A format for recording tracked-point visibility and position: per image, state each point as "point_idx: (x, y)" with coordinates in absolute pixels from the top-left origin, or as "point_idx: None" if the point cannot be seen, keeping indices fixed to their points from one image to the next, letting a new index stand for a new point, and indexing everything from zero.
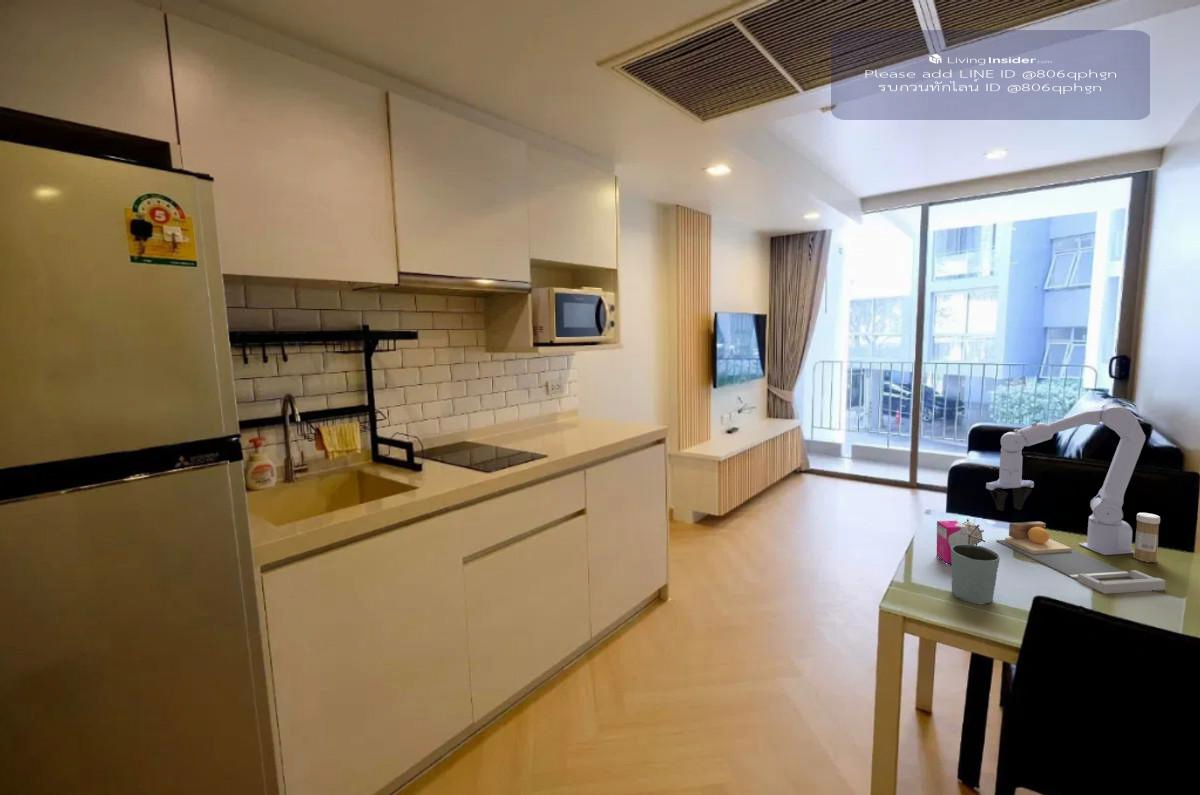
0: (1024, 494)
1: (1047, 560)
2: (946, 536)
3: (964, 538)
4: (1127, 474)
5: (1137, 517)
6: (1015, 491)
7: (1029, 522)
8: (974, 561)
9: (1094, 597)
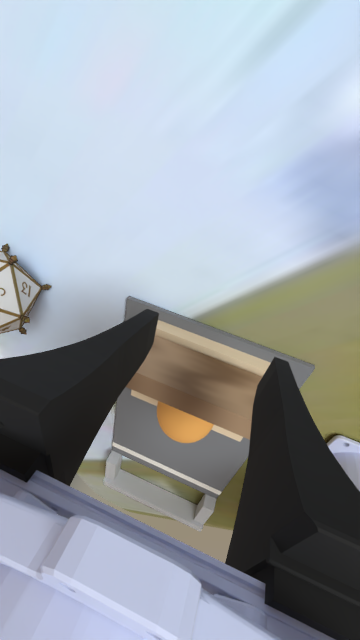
0: (235, 531)
1: (134, 412)
2: None
3: None
4: None
5: None
6: (272, 492)
7: (207, 405)
8: None
9: (90, 461)
